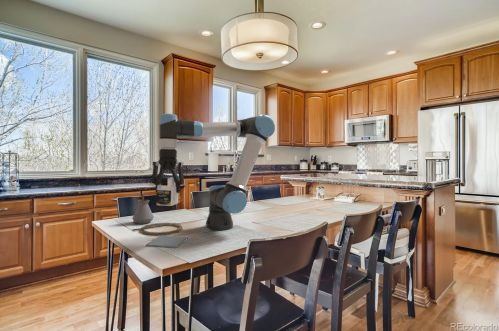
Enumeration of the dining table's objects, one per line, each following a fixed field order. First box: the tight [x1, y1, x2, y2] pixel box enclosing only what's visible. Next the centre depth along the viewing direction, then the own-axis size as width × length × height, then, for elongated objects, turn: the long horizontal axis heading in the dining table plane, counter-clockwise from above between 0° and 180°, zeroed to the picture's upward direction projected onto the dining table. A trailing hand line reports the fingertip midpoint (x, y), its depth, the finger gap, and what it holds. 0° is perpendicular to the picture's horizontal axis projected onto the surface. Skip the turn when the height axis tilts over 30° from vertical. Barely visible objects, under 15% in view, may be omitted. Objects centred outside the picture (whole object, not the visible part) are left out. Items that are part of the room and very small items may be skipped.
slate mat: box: [145, 235, 189, 248], centre depth 126 cm, size 14×14×1 cm
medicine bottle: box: [155, 177, 179, 207], centre depth 126 cm, size 7×7×12 cm
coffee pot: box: [132, 193, 154, 225], centre depth 166 cm, size 21×12×15 cm, turn 21°
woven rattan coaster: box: [140, 222, 183, 236], centre depth 147 cm, size 20×20×1 cm
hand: (167, 199), depth 126 cm, fingers closed on medicine bottle, 7 cm apart
